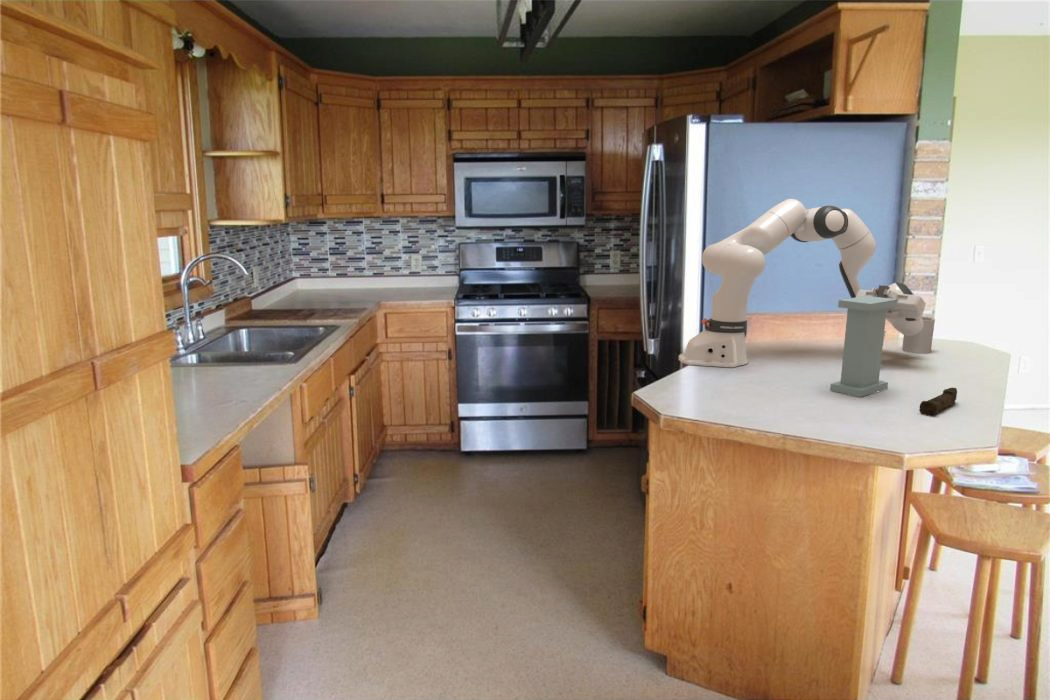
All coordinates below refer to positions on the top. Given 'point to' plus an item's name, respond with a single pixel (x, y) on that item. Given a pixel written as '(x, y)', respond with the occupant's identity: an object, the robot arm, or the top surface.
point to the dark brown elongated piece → (939, 402)
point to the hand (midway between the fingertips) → (880, 290)
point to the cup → (920, 338)
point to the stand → (863, 345)
